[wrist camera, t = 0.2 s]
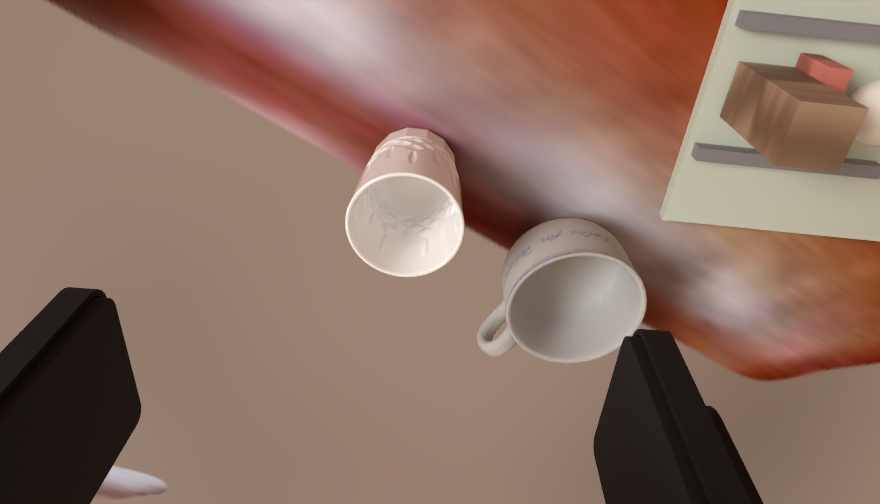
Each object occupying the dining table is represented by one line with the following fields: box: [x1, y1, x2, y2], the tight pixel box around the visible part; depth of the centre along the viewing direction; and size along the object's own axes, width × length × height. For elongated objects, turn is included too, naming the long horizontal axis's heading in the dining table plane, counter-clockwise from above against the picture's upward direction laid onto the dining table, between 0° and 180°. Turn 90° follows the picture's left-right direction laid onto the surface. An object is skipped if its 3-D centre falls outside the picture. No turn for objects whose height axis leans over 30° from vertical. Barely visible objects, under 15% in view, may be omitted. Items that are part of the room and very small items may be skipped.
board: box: [659, 0, 880, 241], centre depth 44 cm, size 22×25×2 cm
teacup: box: [477, 218, 647, 363], centre depth 50 cm, size 14×11×8 cm
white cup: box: [345, 127, 465, 277], centre depth 44 cm, size 8×8×10 cm
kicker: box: [720, 53, 869, 172], centre depth 40 cm, size 6×6×9 cm
